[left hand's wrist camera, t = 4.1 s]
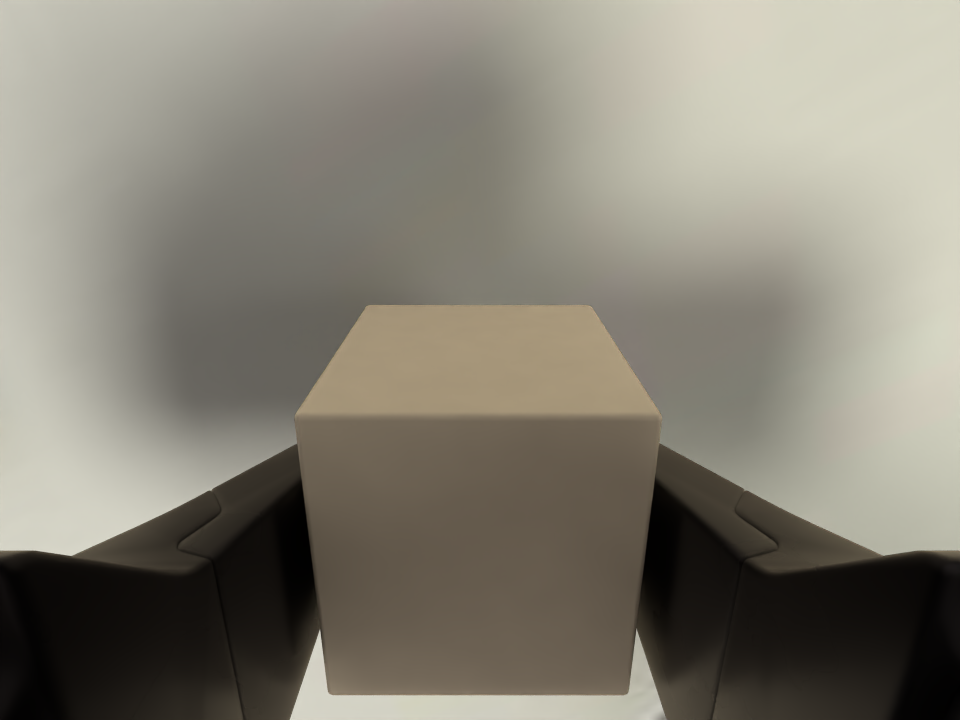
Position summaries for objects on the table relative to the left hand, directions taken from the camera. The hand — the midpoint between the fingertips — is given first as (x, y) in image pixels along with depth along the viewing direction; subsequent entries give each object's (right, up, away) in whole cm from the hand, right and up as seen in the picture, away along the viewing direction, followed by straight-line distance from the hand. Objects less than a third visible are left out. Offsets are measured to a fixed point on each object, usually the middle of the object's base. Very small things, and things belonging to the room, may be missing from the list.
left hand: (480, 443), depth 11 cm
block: (0, +1, +1) cm, 1 cm away
